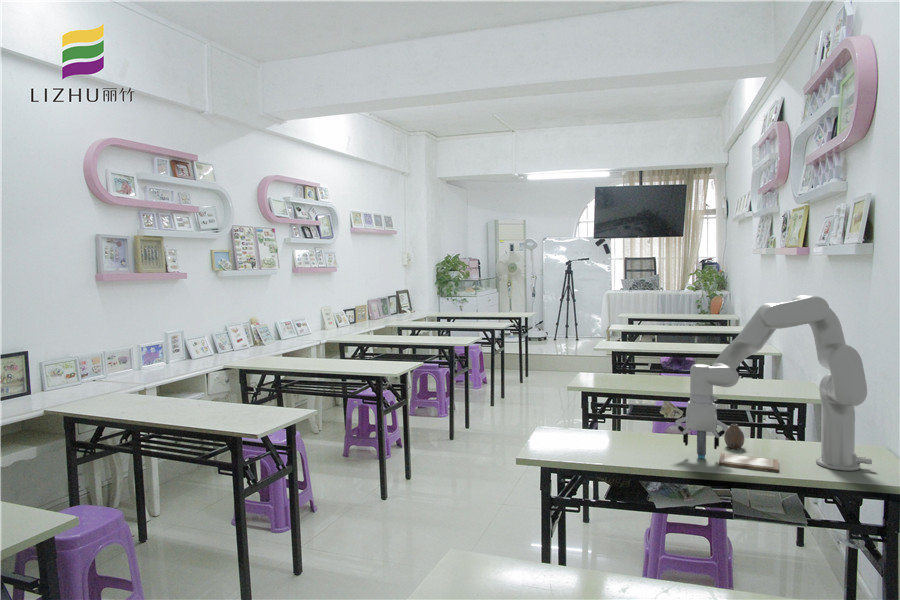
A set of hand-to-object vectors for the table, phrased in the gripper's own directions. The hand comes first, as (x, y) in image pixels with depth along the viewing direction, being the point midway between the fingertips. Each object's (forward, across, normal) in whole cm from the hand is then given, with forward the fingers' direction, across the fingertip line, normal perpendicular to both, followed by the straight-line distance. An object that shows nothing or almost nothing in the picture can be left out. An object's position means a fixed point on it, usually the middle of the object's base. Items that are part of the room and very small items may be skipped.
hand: (700, 446), depth 208 cm
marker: (+4, 0, 0) cm, 4 cm away
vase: (+4, -10, -20) cm, 23 cm away
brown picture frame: (+4, -15, 0) cm, 16 cm away
